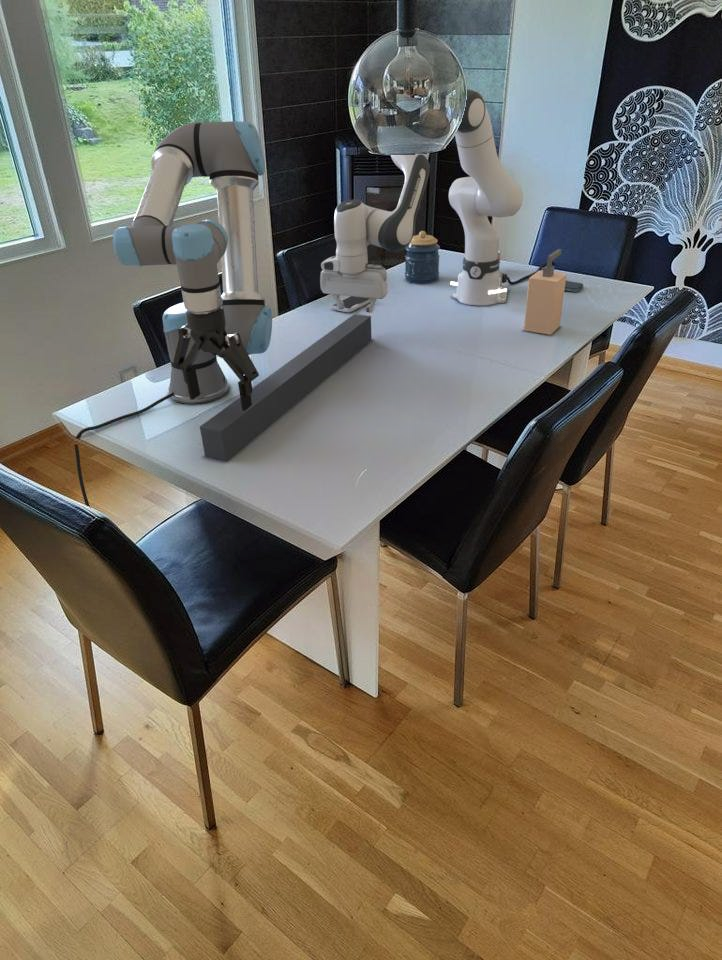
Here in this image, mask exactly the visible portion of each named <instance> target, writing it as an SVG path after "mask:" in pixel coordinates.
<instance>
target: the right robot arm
mask: <svg viewBox="0 0 722 960" xmlns="http://www.w3.org/2000/svg"><path fill="white" fill-rule="evenodd" d="M466 90H467V100H466V107H465V111H464V115H463V118H462V122H461V124H460V126H459V128H458V130H457V132H456V134H455V133H454V136H455V142H456V147H457V153H458V158H459V163H460V167H461V168H462V171H464V173H466V174H467V175H468V176H464V177H459V178H456V179H455V180H454V181H453V182H452V183H451V186H450V187H449V190H448V203H449V205H450V206H451V208H452V209H453V210H454V211H455V212H456V214H457V215H458V217H459V219H460V221H461V224H462V227H463V233H464V257H463V259H462V271H461V272H459V273H458V276H457V282H456V281H450V285H451V286H456V291H455V292H454V293H452V296H451V297H452V298H453V299H456V300H457V301H458V302H460V303H461V304H464V305H469V306H490V305H494V304H504V303H506V301H507V296H508V291H509V288H508V286H504V285H503V284H506V283H508V285H516V284H519V283H521V282H523V281H525V280H527V279H529V278H530V277H531V276H532V275H534V274H535V273H536V272H538V271H542V270H543V268H544V267H545V266H547V262H544V263H543V264H541V265H540V266H539V267H538V269H537V270H536V271H534V272H532V273H530V274H527V275H525V276H522V277H521V278H520V279H517V280H514V281H512V280H511V278H510V277H509V276H508V274H507V273H502V272H501V271H500V265H499V260H500V261H501V255H498V250H499V247H500V233H499V231H498V230H497V229H496V228H495V227H494V226H493V224H492V223H491V222H490V220H489V217H493V218H507V217H513V216H515V215H517V213H518V212H519V211H520V209H521V208H522V205H523V201H524V193H523V190H522V188H521V186H520V184H518V183H517V182H516V181H514V180H513V178H511V177H510V176H509V174H508V172H506V170H505V169H504V167H503V165H502V163H501V161H500V159H499V156H498V152H497V148H496V142H495V136H494V131H493V125H492V121H491V117H490V113H489V110H488V107H487V105H486V103H485V100H484V98H483V96H482V94H481V93H479V92H478V91H475V90H473V89H470V88H469V89H468V88H467V89H466ZM390 157H391V160H392V162H393V163H394V164H395V166H396V167H397V168H398V169H400V170H401V171H402V172H403V174H404V183H403V186H402V190H401V193H400V195H399V199H398V202H397V205H396V207H395V209H394V210H391V211H388V210H384V209H381V208H377V207H372V206H370V205H367V204H365V203H364V202H363V201H361V200H360V199H347V200H344V201H342V202H340V203H339V204H337V205H336V208H335V210H334V214H333V215H334V216H333V227H334V228H333V229H334V230H333V231H334V239H335V242H336V249H335V255H333V256H330V257H328V258H326V259H324V260H323V261H322V262H321V263H320V268H321V271H320V275H319V285H320V290H321V292H322V294H325V295H326V294H327V295H332V299H333V300H334V302H335V304H336V303H337V309H344V302H341V301H342V299H341V298H340V297H341V296H344V297H345V296H346V297H351V296H354V297H364V298H369V301H370V303H369V304H367V305H365V311H366V313H370V314H371V313H373V312H374V305H375V303H376V301H377V300H383V299H384V298H386V296H387V295H388V293H389V289H388V281H387V276H388V273H387V269H386V268H385V267H384V266H382V265H381V264H371V263H369V255H368V246H371V245H372V246H374V247H378V248H382V249H384V250H386V251H388V252H391V253H400V252H402V251H404V250H406V249H405V248H406V247H407V246H408V245H409V243H410V242H411V240H412V237H413V236H414V234H415V233H414V232H415V226H416V220H417V216H418V213H419V210H420V207H421V203H422V200H423V197H424V194H425V191H426V188H427V184H428V180H429V176H430V169H431V166H430V161H429V157H430V153H427V154H415V155H390ZM552 266H556V263H555V262H554V260H552Z"/></svg>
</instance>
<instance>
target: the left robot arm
mask: <svg viewBox="0 0 722 960" xmlns="http://www.w3.org/2000/svg"><path fill="white" fill-rule="evenodd" d="M264 157H265V156H264V152H263V147H262V143H261V139H260V136H259V131H258V130H257V127H256V125H254V123H252V122H251V121H243V120H242V121H241V120H240V121H237V120H231V121H229V120H228V121H212V122H210V121H209V122H208V121H207V122H190V123H186V124H185V123H184V124H183V125H181V126H178V127H177V128H175V129H173V130H172V131H170V133H168V134H167V135H166V136H164V137H163V139H162V140H161V141H160V142H159V143H158V144H157V146H156V148H155V149H154V151H153V154H152V157H151V160H150V163H151V164H150V166H151V169H152V170H151V172H150V176H149V178H148V181H147V184H146V186H145V189H144V192H143V194H142V197H141V199H140V202H139V205H138V208H137V210H136V213H135V216H134V218H133V221H132V222H131V225H130V226H128V225H125V226H121V227H117V228H116V229H115V230H114V232H113V234H112V246H113V251H114V254H115V257H116V259H117V261H118V262H119V263H120V264H122V265H124V266H137V267H143V266H164V265H165V266H166V265H173V266H175V265H176V269H177V274H178V278H179V284H180V289H181V290H180V291H181V295H182V301H183V302H180V303H177V304H175V305H173V306H170V307H168V308H167V309H166V310H165V311H164V312H163V314H162V325H163V333H164V337H165V342H166V345H167V352H168V357H169V361H170V367H171V369H170V370H171V371H170V377H169V386H168V394H167V395H165V396H163V397H161V398H159V399H158V400H156V401H154V402H153V403H151V404H150V405H147V406H146V407H144V408H142V409H140V410H136V411H133V412H130V413H127V414H124V415H123V414H122V415H121V416H117V417H116V418H113V419H110V420H108V421H105V422H103V423H99V424H97V425H92V426H88V427H85V428H83V429H81V430H79V432H78V433H77V434H76V436H75V440H78V439H80V438H81V436H82V435H84V434H85V433H86V432H89V431H95V430H98V429H101V428H103V427H106V426H108V425H111V424H114V423H117V422H119V421H122V420H124V419H128V418H131V417H135V416H137V415H141V414H143V413H145V412H147V411H150V410H151V409H152V408H154V407H155V406H157V405H159V404H161V403H162V402H164V401H167V400H169V399H170V398H171V400H173V401H175V402H177V403H180V404H188V405H189V404H190V405H196V404H197V405H198V404H204V403H208V402H212V401H214V400H217V399H219V398H221V397H223V396H224V395H225V394H227V392H228V391H229V383H228V379H227V378H226V375H225V374H224V372H223V370H222V368H221V366H220V363H219V362H218V358H220V359H222V360H223V361H224V363H226V365H227V366H228V367H229V368H230V369H231V371H232V372H233V373H234V374H235V376H236V377H237V378H238V379H239V381H238V382H237V386H238V392H239V398H240V399H241V406H242V410H244V411H245V410H247V409H248V408H249V407H250V406H252V401H251V394H252V392H253V390H252V388H253V384H252V382H253V381H254V380H256V379H258V377H259V376H260V372H258V370H257V368H256V366H255V363H253V360H252V359H251V357H250V356H251V355H260V354H261V355H262V354H264V353H265V352H267V351H268V349H269V347H270V344H271V339H272V332H273V311H272V308H271V307H270V306H268V305H266V301H265V300H266V299H265V298H264V297H263V295H261V294H260V293H259V284H258V265H257V264H258V263H257V248H256V247H257V246H256V245H257V244H256V227H255V210H254V209H255V207H254V190H255V189H256V188H257V187H258V186H259V181H260V180H259V176H260V177H262V175H265V172H266V169H265V167H266V166H265V158H264ZM200 177H203V178H207V177H208V178H209V184H210V185H211V187H213V189H215V190H216V199H217V216H218V221H216V220H213V219H204V220H201V221H199V222H197V223H191V224H190V223H188V224H180V225H179V224H178V225H177V224H176V225H173V223H174V220H175V217H176V214H177V211H178V208H179V205H180V202H181V199H182V196H183V192H184V189H185V187H186V186H187V185H188V184H189V183H190V182H191V181H192V180H193V178H200ZM219 261H220V263H221V280H222V290H221V283H220V278H219V270H218V264H219ZM222 291H223V292H222ZM217 356H218V358H217ZM74 452H75V460H76V461H75V462H76V471H77V476H78V481H79V486H80V490H81V494H82V497H83V502H84V504H85V506H86V505H87V506H89V507H90V508H91V506H90V502H89V499H88V496H87V491H86V488H85V483H84V478H83V474H82V473H83V472H82V466H81V458H80V457H81V455H80V450H79V444H76V443H74Z"/></svg>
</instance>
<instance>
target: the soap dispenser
mask: <svg viewBox="0 0 722 960" xmlns="http://www.w3.org/2000/svg"><path fill="white" fill-rule="evenodd" d="M562 250H563V249H561V248H557V249H556V250H555V251H553V252H552V253H550V254H549V255H547V259H546V263H547V265H546V266H545V267H543V268H542V270H540V271H538V272H536V271H535V272H536V273H535V274H534V275H532V276H531V277H530V278H528V283H527V284H528V285H527V293H526V303H525V314H524V315H525V316H524V325H523V331H525V332H532V333H538V334H543V335H547V336H551V335H552V334H553V333H555V331H556V330H557V329H559V328H560V327H561V319H562V312H563V305H564V297H565V291H566V290H565V282H566V281H567V273H562V272H555V265H552V261H554V260H555V259H557V258H558V257H559V256H561V255H562Z"/></svg>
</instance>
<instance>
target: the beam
mask: <svg viewBox="0 0 722 960" xmlns="http://www.w3.org/2000/svg"><path fill="white" fill-rule="evenodd" d="M371 341H372V316H371V315H366V314H365V315H364V314H356V313H353V314H352V315H351V316H350V317H348V318H347V319H345V320H344V321H343V322H341V323H339V324H338V325H337V326H335V327H334V328H332V329H331V330H330V331H328V333H326V334H325V335H323V336H322V337H320V338H319V339H318V340H316V341H315V342H314V343H312V344H311V345H310V346H309V347H307V348H306V349H304V350H302V351H301V352H300V353H299V354H297V355H296V356H294V357H293V358H292V359H290V360H289V361H287V362H286V363H285V364H283V365H282V366H281V367H279V368H278V369H277V370H275V371H274V372H272V373H271V374H270V375H268V376H267V377H266V378H264V379H263V380H262V381H260V382H259V383H257V384H256V385H255V386H252V390H253V392H252V394H251V401H252V406H250V407H249V408H248V409H247V410H245V411H244V410H242V406H241V399H240V397H238V398H237V399H236V400H234V401H233V402H231V403H230V404H229V405H227V406H226V407H225V408H223V409H222V410H221V411H219V412H218V413H216V414H215V415H213V416H212V417H211V418H209V419H208V420H207V421H205V422H204V423H202V424H201V425H200V426H199V431H200V436H201V437H200V438H201V441H202V448H203V452H204V457H205V458H210V459H214V460H219V461H222V462H227V461H228V460H230V458H232V457H233V456H235V455H236V454H237V453H238V452H239V451H240V450H241V449H243V448H244V447H245V446H246V445H247V444H249V443H250V442H251V441H252V440H253V439H255V438H257V436H258V435H259V434H261V433H262V432H263V431H264V430H265V429H267V428H268V427H269V426H271V424H273V423H274V422H275V421H277V420H278V419H279V418H280V417H281V416H282V415H284V414H285V413H286V412H287V411H289V410H290V409H291V408H292V407H293V406H294V405H295V404H297V403H298V402H299V401H301V400H302V399H303V398H304V397H305V396H306V395H308V394H309V393H311V391H312V390H314V388H316V387H317V386H318V385H320V384H321V383H322V382H323V381H324V380H326V379H327V378H328V377H329V376H331V375H332V374H333V373H334V372H335V371H336V370H337V369H339V368H341V366H343V365H344V364H345V363H346V362H347V361H348V360H350V359H351V358H352V357H353V356H354V355H356V354H357V353H358V352H359V351H360V350H361V349H363V348H364V347H366V346H367V344H369V343H370V342H371Z"/></svg>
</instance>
